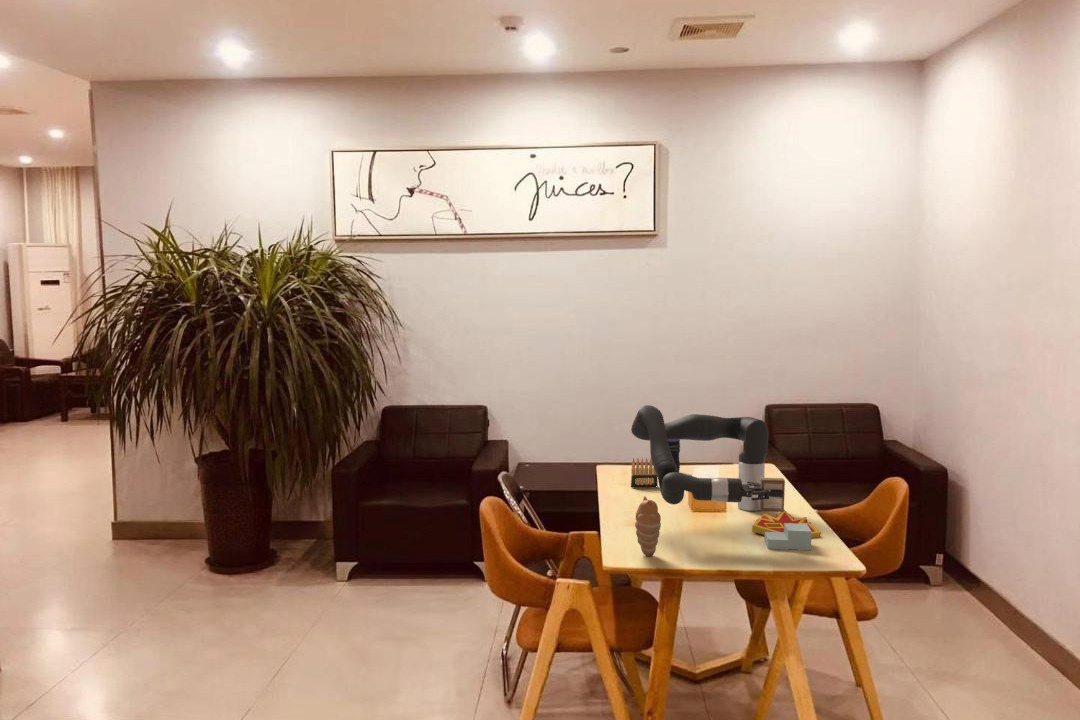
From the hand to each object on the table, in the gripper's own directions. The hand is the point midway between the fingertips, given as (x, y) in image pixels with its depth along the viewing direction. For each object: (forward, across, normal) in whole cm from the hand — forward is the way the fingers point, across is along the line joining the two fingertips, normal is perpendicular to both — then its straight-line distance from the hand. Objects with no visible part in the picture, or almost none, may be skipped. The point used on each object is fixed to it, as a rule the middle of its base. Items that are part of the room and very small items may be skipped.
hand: (781, 491), depth 269 cm
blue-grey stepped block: (+2, 0, -17) cm, 17 cm away
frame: (-3, 0, -6) cm, 7 cm away
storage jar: (-33, -95, -19) cm, 103 cm away
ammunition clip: (-43, -70, -19) cm, 85 cm away
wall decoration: (+4, -21, -18) cm, 28 cm away
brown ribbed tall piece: (-41, +15, -18) cm, 47 cm away
